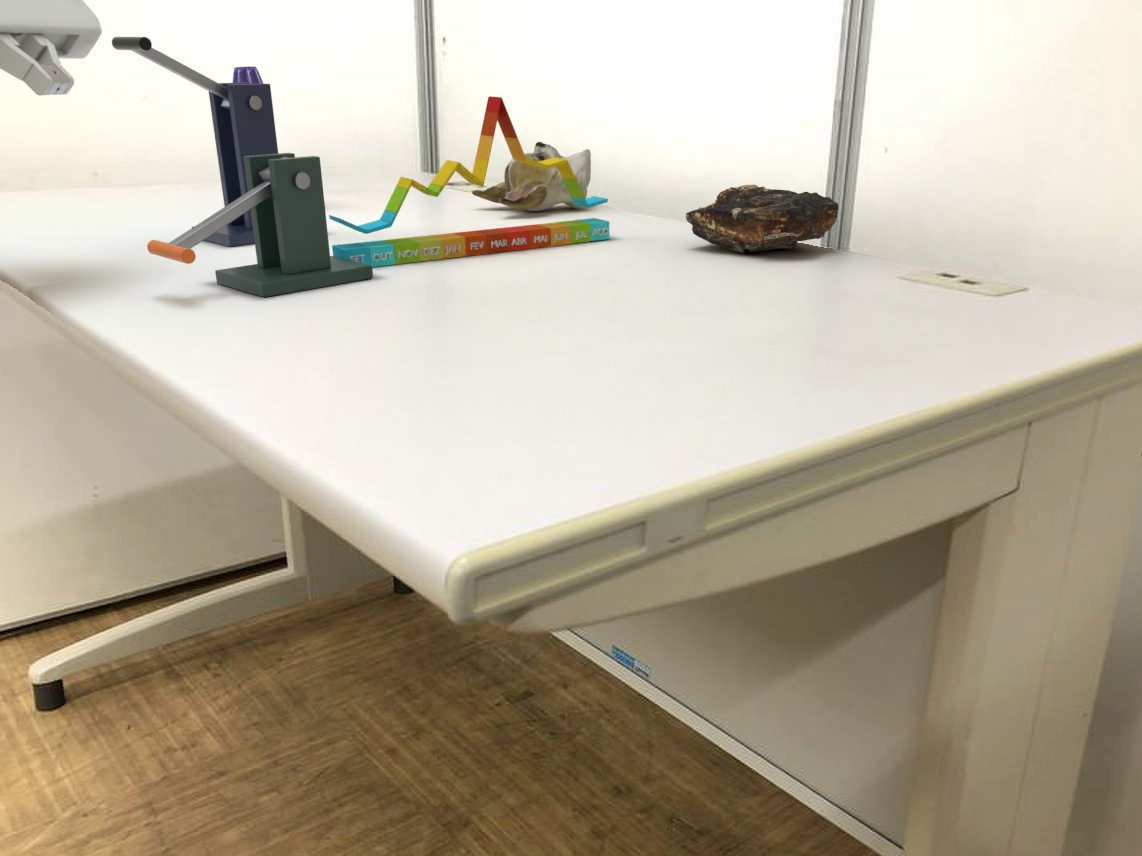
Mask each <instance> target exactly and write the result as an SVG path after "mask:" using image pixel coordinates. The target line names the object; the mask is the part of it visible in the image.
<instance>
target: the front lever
mask: <svg viewBox="0 0 1142 856" xmlns="http://www.w3.org/2000/svg"><path fill="white" fill-rule="evenodd" d="M282 158H288V157H282ZM280 159H281V158H280ZM259 174H260V176H261V178H262V180H263V181H264V182H263V183H261V184H260V185H258V186H256V187H255V188H253V189H252V190H250V191H249V192H247V193H246V194H244V195H243V196H241V197H239V198H238V199H236V200H235V201H233V202H232V203H230V204H229V205H227V206H226V207H225V206H224V207H223V208H222V207H221V208H220V209H219V210H218V211H216V212H215V213H213V214H212V215H210V216H209V217H207V218H205V219H204V220H202V221H200V222H199V223H197V224H196V225H194V226H195V227H193V226H192V227H193V228H192V227H191V228H190V229H188V230H187V231H185V232H184V233H182V234H180V235H179V236H177V237H176V238H174V239H173V240H171V241H169V242H166V241H162V240H159V239H158V240H157V239H151V240H149V242H148V243H147V246H146V248H147V251H148V252H149V254H151V255H154V256H158V257H161V258H165V259H169V260H172V261H176V262H180V263H183V264H187V265H190V264H193V263H194V262H195V261H196V252H195V251H194V250H193V249H192V248H194V247H196V246H197V245H199V244H200V243H202V242H204V241H205V239H206V238H208V237H209V236H211V235H212V234H214V233H215V232H217V231H218V230H220V229H221V228H223V227H224V226H226V225H227V224H229V223H230V222H232V221H234V220H235V219H237V218H238V217H240V216H241V215H243V214H244V213H246V212H247V211H249V210H250V209H252V208H253V207H255V206H256V205H258V204H259V203H261V202H262V201H264V200H265V199H267V198H268V197H270V196H272V188H271V179H270V171H269V166H268V167H266V168H265V169H263V170H262V171H260V172H259ZM272 197H273V196H272Z"/></svg>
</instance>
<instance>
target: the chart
mask: <svg viewBox="0 0 1142 856" xmlns="http://www.w3.org/2000/svg"><path fill="white" fill-rule="evenodd" d="M497 123H498V126H499V128H500V130H501V134H502V135H503V138H504V141H505V143H506V145H507V147H508V150H509V153H510V155H511V159H512V158H513V159H514V160H516V161H519V162H522V163H525V164H528V165H531V166H534V167H540V168H545V169H548V168H552V167H555V166H557V168H558V170H559V172H560V175H561V177H562V179H563V181H564V183H565V185H566V187H567V189H568V192H569V194H570V196H571V198H572V200H573V202H574V204H575V205H577V206H581V208H587V209H590V208H593V207H597V206H601V205H603V204H607V203H608V202H609V201H608V200H609V199H608V198H605V197H601V196H596V195H594V196H589V197H586V199H585V197H584V195H583V193H582V190H581V188H580V186H579V184H578V182H577V180H576V177H575V175H574V173H573V171H572V169H571V167H570V164H569V162H568V161H567V159H561V158H550V159H547V160H543V161H540V162H536V161H533V160H530V159H528V158H526V157H525V154H524V153H525V152H524V149H523V147H522V144H521V142H520V139H519V137H518V134H517V132H516V130H515V127H514V125H513V122H512V120H511V118H510V114H509V112H508V110H507V107H506V104H505V102H504V99H503V97H502V96H488V97H487V102H486V106H485V111H484V117H483V120H482V125H481V131H480V135H479V140H478V145H477V150H476V154H475V155H476V156H475V159H474V164H473V168H472V172H471V171H470V170H469V169H468V168H466V167H465V166H464V165H463V164H462V163H461V162H459V161H456V160H455V161H454V160H449V159H446V160H445V161H444V163H443V164H442V166H441V167H440V168H439V170H438V172H437V173H436V174H435V176H434V177H433V179H432V180H431V182H430V183H429V185H427V186H425V185H423V184H422V183H420V182H418V181H416V180H415V179H413V178H408V177H404V176H400V177H399V179H398V181H397V183H396V186H395V188H394V190H393V192H392V194H391V196H390V198H389V200H388V202H387V204H386V206H385V208H384V210H383V212H382V214H381V217H380V218H379V219H377V220H374V221H370V222H366V223H363V224H359V225H356V224H353V223H351V222H349V221H346V220H345V219H342V218H340V217H337V216H334V215H331V214H329V215H328V217H329V220H331V221H333V222H336V223H337V224H341V225H343V226H345V227H347V228H349V229H352V230H354V231H357V232H360V233H363V234H366V235H368V234H372V233H375V232H379V231H382V230H387V229H390V228H391V227H392V226H393V225H394V222H395V220H396V219H397V216H398V214H399V212H400V209H401V208H402V206H403V204H404V202H405V200H406V198H407V195H408V194H409V192H410V190H411V188H413V189H415V190H417V191H419V192H421V193H422V194H425V195H427V196H431V197H434V198H438V197H439V196H440V194H441V193H442V191H443V190H444V188H445V187H446V186H447V184H448V183H449V181H450V180H451V178H452V177H453V176H454V174H455V173H457V174H459V176H461V177H462V178H463V179H464V180H465V181H467V183H468V184H470V185H475V186H479V187H484V186H485V180H486V177H487V172H488V171H487V170H488V166H489V163H490V162H489V161H490V157H491V152H492V148H493V144H494V143H493V142H494V138H495V134H496V129H497ZM602 240H603V241H604V240H610V221H609V220H605V219H601V218H597V217H591V218H581V219H573V220H572V219H571V220H563V221H555V222H546V223H537V224H527V225H518V226H517V225H516V226H508V227H498V228H488V229H478V230H466V231H459V232H449V233H439V234H429V235H421V236H419V235H418V236H411V237H409V236H408V237H401V238H400V237H399V238H389V239H382V240H380V239H379V240H370V241H361V242H352V243H341V244H332V245H331V248H332V249H331V250H332V256H333V257H338V258H342V259H347V260H351V261H355V262H360V263H364V264H368V265H372V268H376V267H385V266H391V265H392V266H393V265H402V264H410V263H418V262H426V261H436V260H444V259H451V258H461V257H468V256H469V257H470V256H479V255H487V254H495V253H505V252H513V251H523V250H529V249H530V250H531V249H539V248H548V247H554V246H555V247H556V246H565V245H572V244H580V243H587V242H595V241H602Z"/></svg>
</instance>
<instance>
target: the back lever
mask: <svg viewBox="0 0 1142 856" xmlns="http://www.w3.org/2000/svg"><path fill="white" fill-rule="evenodd" d="M111 45H112V47H113V48H114V49H115V50H117V51H131V52H134V53H135V54H137V55H139V56H140V57H142V58H144V59H146V60H148V61H150V62H153V63H154V64H156V65H158V66H160V67H162V68H164V69H165V70H167V71H169V72H171V73H173V74H175V75H177V76H179V77H181V78H182V79H185V80H186V81H188V82H191V83H193V84H194V85H196V86H198V87H200V88H202V89H203V90H206V91H207V92H208V93H209V92H211V93H213V94H215V95H217V96H219V97H221V98H223V101H222V104H221V106H222V107H224V108H226V109H227V110H229V111H230V106H229V98H228V91H227V88H226V87H224V86H223V85H221V84H219V83H220V82H217V81H215V80H213V79H212V78H210V77H207V76H206V75H204V74H202V73H201V72H198V71H196V70H195V69H193V68H192V67H189V66H187V65H186V64H183V63H182V62H180V61H178V60H176V59H174V58H172V57H170V56H169V55H167V54H165V53H163V52H161V51H159V50H158V49H156V48H154V47H152V46H153V44H152V41H151V39H149V38H148V37H147V36H114V37H112V39H111Z"/></svg>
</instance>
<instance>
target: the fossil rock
mask: <svg viewBox="0 0 1142 856" xmlns="http://www.w3.org/2000/svg"><path fill="white" fill-rule="evenodd" d="M838 214H839V203H838V202H836V201H834V200H833V198H831V197H830V196H823V195H821V194H819V193H818V192H814V191H813V192H809V191H803V192H800V193H798V192H796V191H792V190H789V189H788V190H787V189H775V188H773V189H771V188H766V187H765V185H764V186H758V185H756V184H744V185H740V186H737V187H736V186H735V187H733V186H730V187H729V188H726V189H724V190H722V191H720V192H719V193H718V194H717V196H716V199H715V200H714V202H712V204H711V203H710V204H708V205H707V206H704V207H701V206H700V207H699V208H697V209H693V210H690V211H688V212H686V213H685V219H686V222H688V223H689V224H690V225H691V230H692V234H693V235H694V236H696V237H698V238H700V239H702V240H704V241H705V242H708V243H709V244H712V245H715V246H718V247H721V248H725V249H728V250H730V251H734V252H736V253H743V254H744V253H745V252H746V250H747V251H748V253H756V252H764V251H765V252H767V251H771V250H779V249H794V248H795V247H796V246H797V243H798V242H805V241H811V240H819V239H822V238H823V237H825V234H826V233H827V232H829V230H831V229H832V227H833V226H834V225H835V224H836V222H837V219H838Z"/></svg>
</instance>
